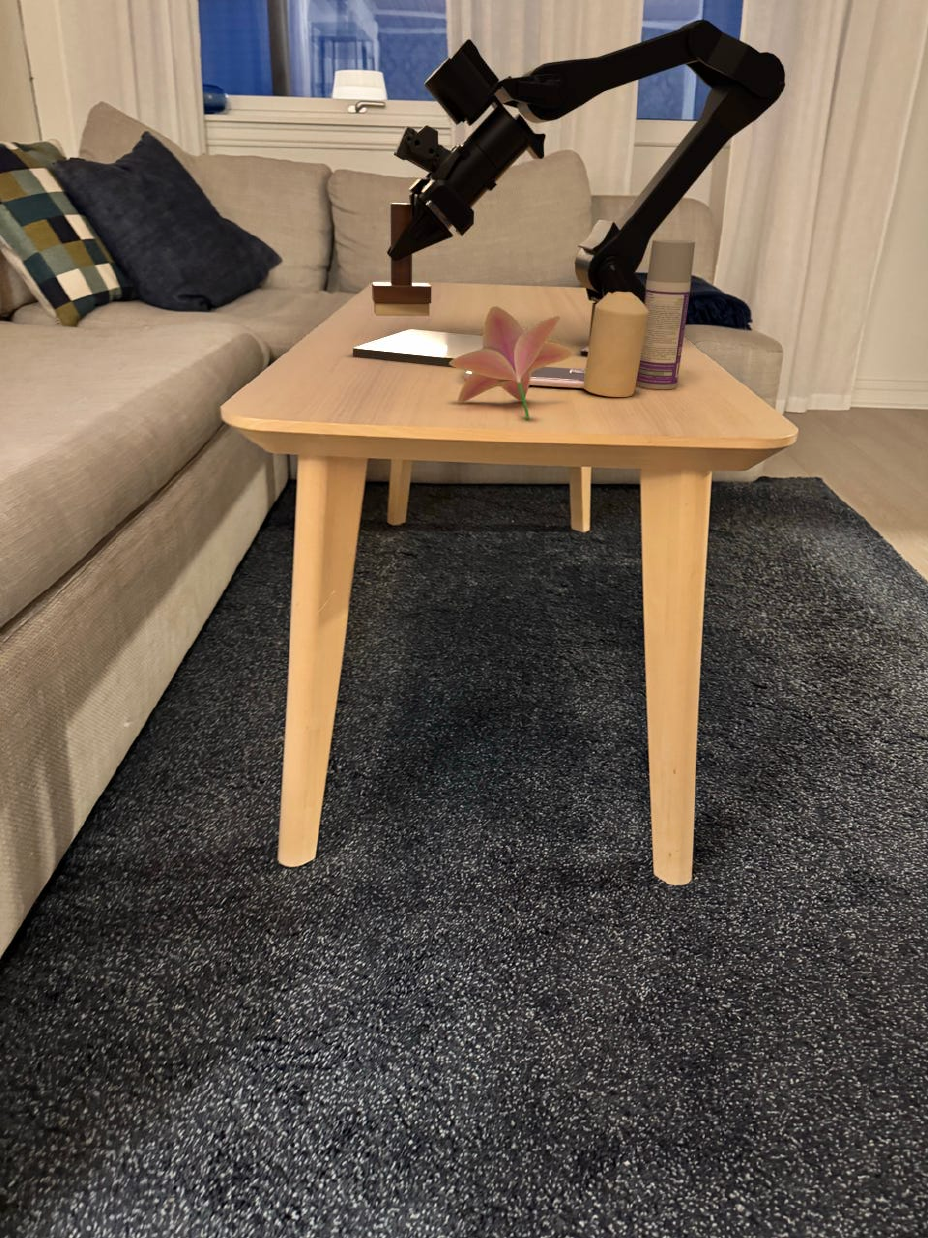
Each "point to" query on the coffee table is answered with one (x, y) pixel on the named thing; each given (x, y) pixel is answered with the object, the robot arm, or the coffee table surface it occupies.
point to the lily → (508, 356)
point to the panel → (421, 347)
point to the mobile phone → (555, 377)
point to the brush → (401, 277)
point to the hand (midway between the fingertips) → (390, 257)
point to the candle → (615, 345)
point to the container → (665, 312)
